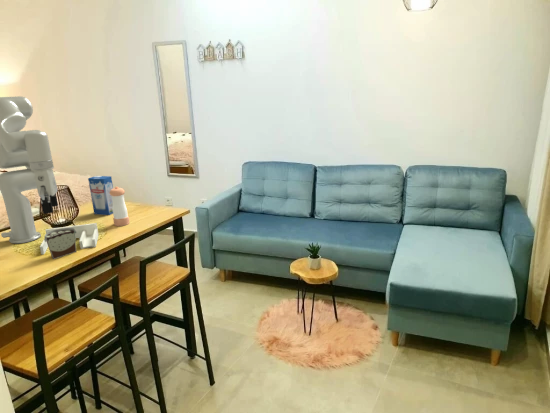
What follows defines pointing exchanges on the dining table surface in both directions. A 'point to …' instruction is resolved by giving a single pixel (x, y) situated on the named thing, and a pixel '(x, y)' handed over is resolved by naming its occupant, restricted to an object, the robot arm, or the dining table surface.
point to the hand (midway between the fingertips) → (51, 209)
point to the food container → (61, 242)
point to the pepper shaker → (119, 207)
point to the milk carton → (101, 194)
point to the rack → (79, 236)
